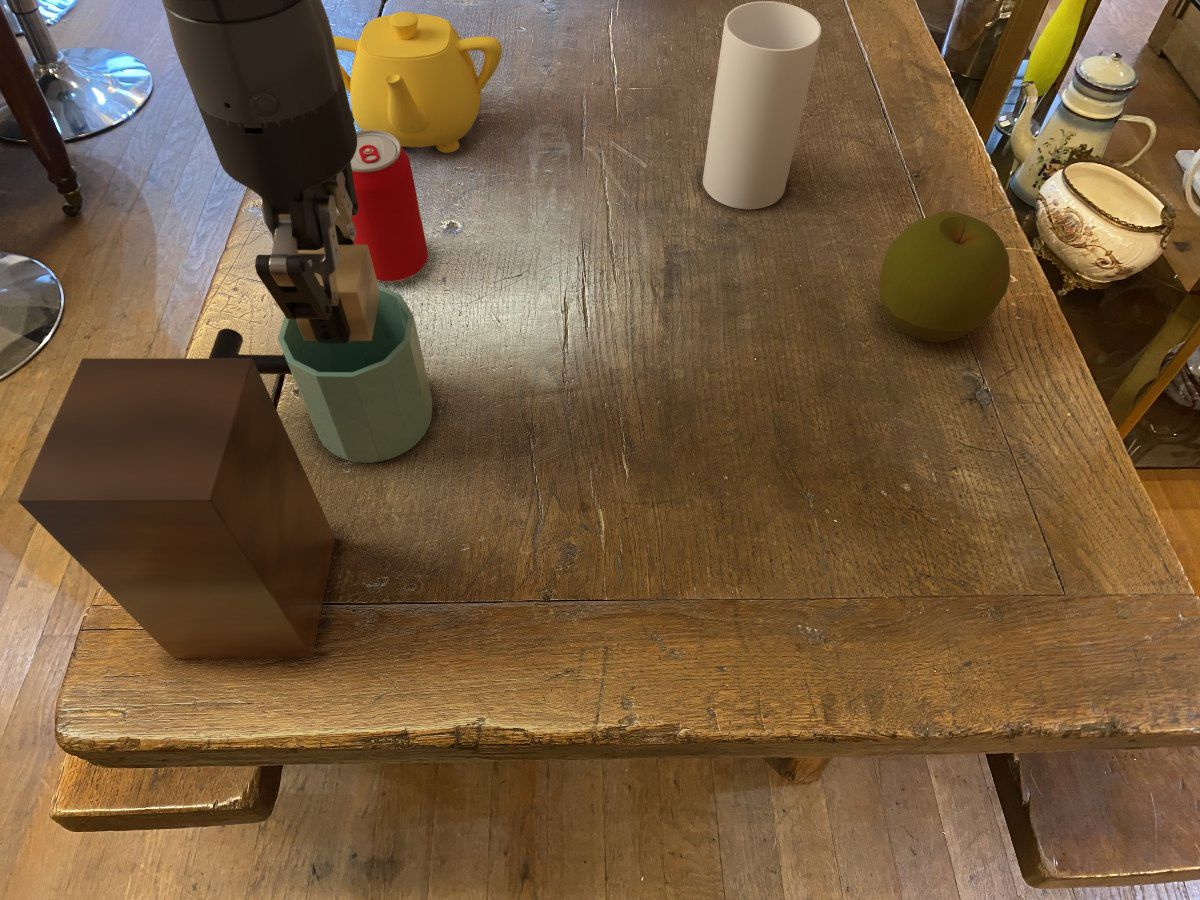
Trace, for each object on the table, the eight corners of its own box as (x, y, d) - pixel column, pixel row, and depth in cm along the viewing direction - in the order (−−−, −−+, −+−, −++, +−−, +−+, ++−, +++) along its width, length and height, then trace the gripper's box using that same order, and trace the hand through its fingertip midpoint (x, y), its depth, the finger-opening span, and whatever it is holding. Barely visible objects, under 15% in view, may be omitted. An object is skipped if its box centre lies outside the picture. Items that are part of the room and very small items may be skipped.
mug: (220, 461, 65) (169, 374, 56) (249, 371, 70) (206, 279, 62) (424, 463, 65) (402, 377, 57) (438, 373, 70) (419, 283, 62)
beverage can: (419, 235, 80) (397, 119, 70) (436, 278, 77) (415, 163, 67) (353, 250, 79) (321, 134, 69) (367, 294, 75) (335, 180, 66)
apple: (876, 362, 72) (918, 262, 63) (854, 282, 77) (889, 180, 68) (994, 362, 72) (1053, 262, 63) (963, 282, 78) (1012, 180, 69)
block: (371, 341, 57) (357, 292, 54) (303, 341, 57) (285, 291, 54) (380, 294, 60) (367, 244, 56) (316, 294, 60) (299, 243, 56)
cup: (687, 171, 86) (706, 13, 74) (755, 150, 89) (785, -7, 76) (731, 218, 82) (759, 59, 69) (801, 195, 85) (841, 37, 72)
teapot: (322, 135, 89) (291, 22, 80) (426, 79, 96) (408, -32, 86) (411, 192, 84) (389, 78, 74) (514, 129, 90) (506, 17, 81)
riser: (312, 658, 56) (210, 500, 40) (172, 659, 55) (16, 501, 40) (335, 537, 61) (253, 357, 46) (208, 538, 61) (81, 357, 45)
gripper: (229, 4, 48) (307, 241, 62) (150, 158, 40) (261, 392, 54) (362, 7, 49) (410, 242, 62) (311, 160, 40) (380, 394, 54)
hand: (341, 311), depth 58 cm, fingers closed on block, 4 cm apart
